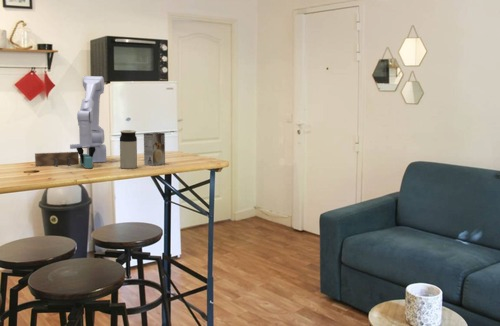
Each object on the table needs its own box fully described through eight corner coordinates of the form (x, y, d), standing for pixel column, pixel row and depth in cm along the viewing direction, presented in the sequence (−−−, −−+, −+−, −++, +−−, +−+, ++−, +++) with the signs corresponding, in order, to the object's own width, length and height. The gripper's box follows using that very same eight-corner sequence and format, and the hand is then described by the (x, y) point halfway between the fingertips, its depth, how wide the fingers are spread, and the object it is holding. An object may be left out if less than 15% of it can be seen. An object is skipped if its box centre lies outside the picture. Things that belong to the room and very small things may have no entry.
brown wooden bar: (77, 163, 261) (77, 151, 260) (80, 165, 255) (79, 153, 255) (35, 165, 252) (34, 153, 251) (36, 167, 246) (36, 155, 245)
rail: (86, 163, 259) (86, 153, 258) (92, 168, 246) (92, 157, 246) (80, 164, 258) (80, 154, 257) (86, 168, 245) (85, 158, 244)
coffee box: (156, 162, 269) (155, 132, 267) (165, 164, 266) (165, 132, 263) (143, 164, 261) (143, 133, 259) (153, 166, 258) (152, 134, 256)
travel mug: (120, 169, 246) (119, 131, 244) (120, 166, 254) (119, 130, 251) (137, 168, 248) (137, 131, 246) (136, 166, 256) (136, 130, 253)
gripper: (71, 136, 243) (72, 164, 245) (102, 135, 249) (103, 163, 252) (68, 135, 249) (69, 162, 251) (99, 134, 256) (100, 161, 258)
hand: (86, 162), depth 252 cm, fingers closed on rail, 3 cm apart
